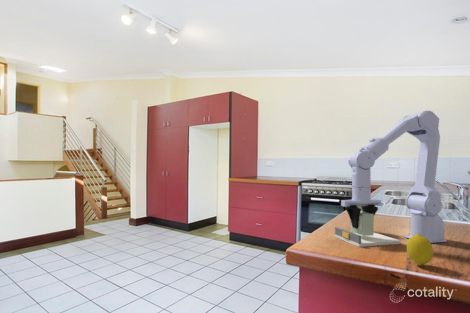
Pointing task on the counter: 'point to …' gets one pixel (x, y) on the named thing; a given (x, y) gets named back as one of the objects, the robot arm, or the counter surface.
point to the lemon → (419, 249)
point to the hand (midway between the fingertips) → (361, 227)
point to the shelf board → (364, 238)
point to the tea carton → (364, 224)
